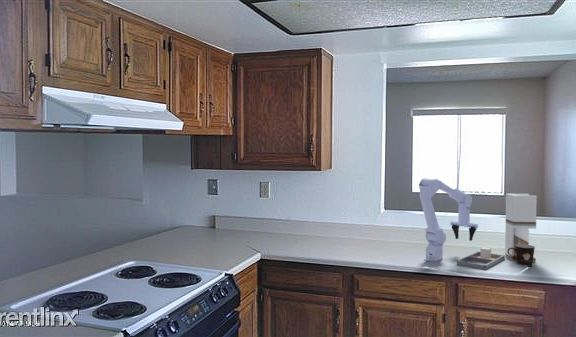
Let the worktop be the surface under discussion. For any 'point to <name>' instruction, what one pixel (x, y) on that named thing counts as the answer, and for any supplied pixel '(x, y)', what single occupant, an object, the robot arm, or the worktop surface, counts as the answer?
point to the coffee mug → (524, 254)
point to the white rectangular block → (485, 253)
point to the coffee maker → (519, 221)
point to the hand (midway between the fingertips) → (463, 239)
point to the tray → (480, 261)
